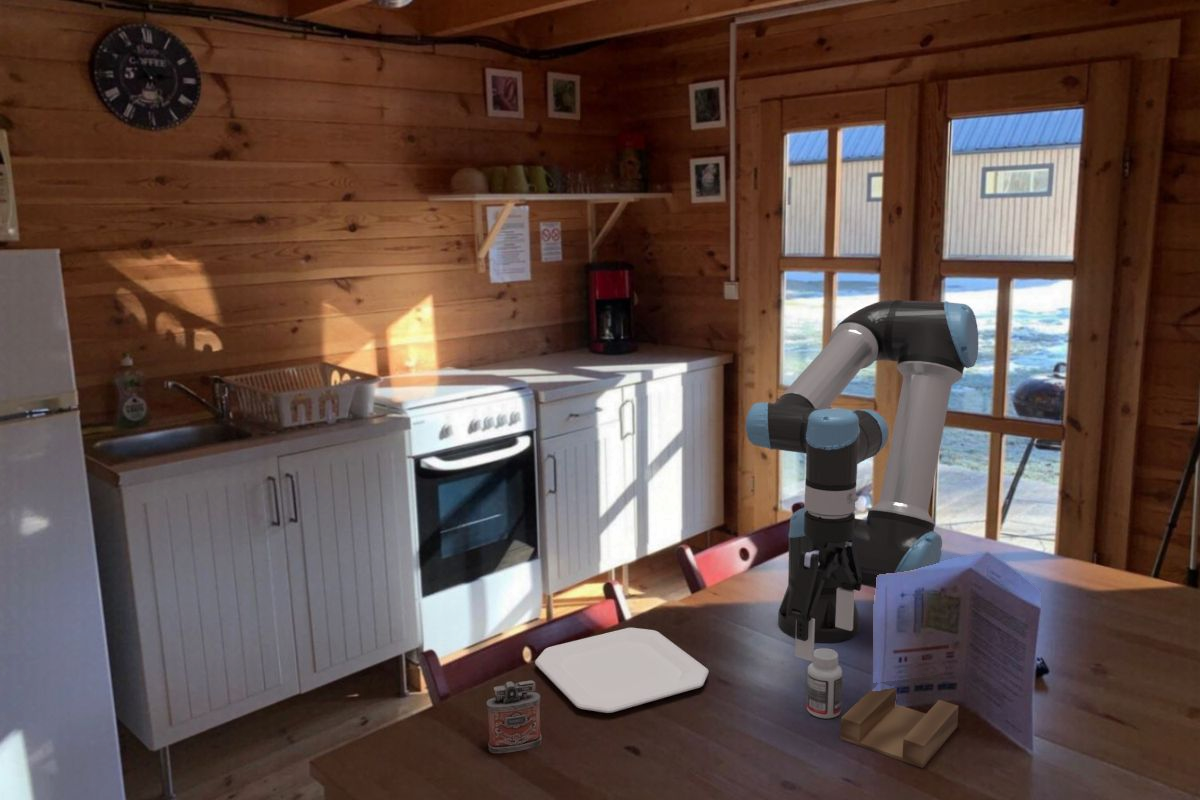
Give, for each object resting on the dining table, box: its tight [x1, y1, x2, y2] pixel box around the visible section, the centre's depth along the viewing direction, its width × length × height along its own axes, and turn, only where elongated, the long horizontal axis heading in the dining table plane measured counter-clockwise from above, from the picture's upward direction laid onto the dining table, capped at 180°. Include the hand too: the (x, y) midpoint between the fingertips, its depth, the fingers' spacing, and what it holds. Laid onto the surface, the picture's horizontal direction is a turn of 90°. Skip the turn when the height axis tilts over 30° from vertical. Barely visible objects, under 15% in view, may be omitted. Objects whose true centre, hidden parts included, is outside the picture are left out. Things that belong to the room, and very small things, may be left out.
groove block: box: [839, 688, 960, 769], centre depth 146 cm, size 13×14×4 cm
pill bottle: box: [806, 647, 843, 720], centre depth 152 cm, size 5×5×10 cm
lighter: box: [486, 679, 543, 754], centre depth 144 cm, size 8×3×10 cm, turn 106°
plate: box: [534, 627, 710, 714], centre depth 166 cm, size 25×25×2 cm
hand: (824, 642), depth 150 cm, fingers open, 13 cm apart
